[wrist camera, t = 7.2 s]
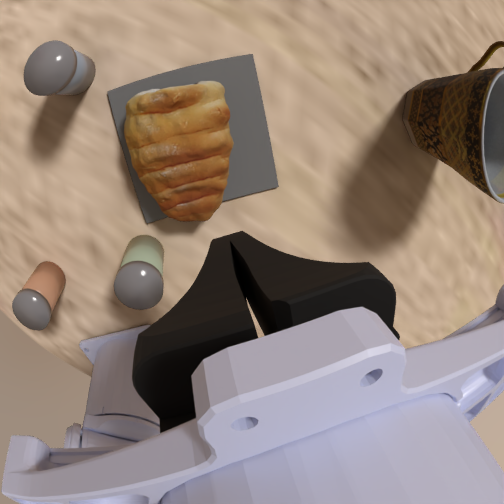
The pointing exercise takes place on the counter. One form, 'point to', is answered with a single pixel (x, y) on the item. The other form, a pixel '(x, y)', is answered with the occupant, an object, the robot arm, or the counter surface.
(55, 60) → the jar slate blue
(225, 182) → the pastry
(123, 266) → the jar sage
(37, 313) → the jar terracotta
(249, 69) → the slate mat
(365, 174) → the counter surface
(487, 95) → the ceramic cup
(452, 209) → the counter surface
